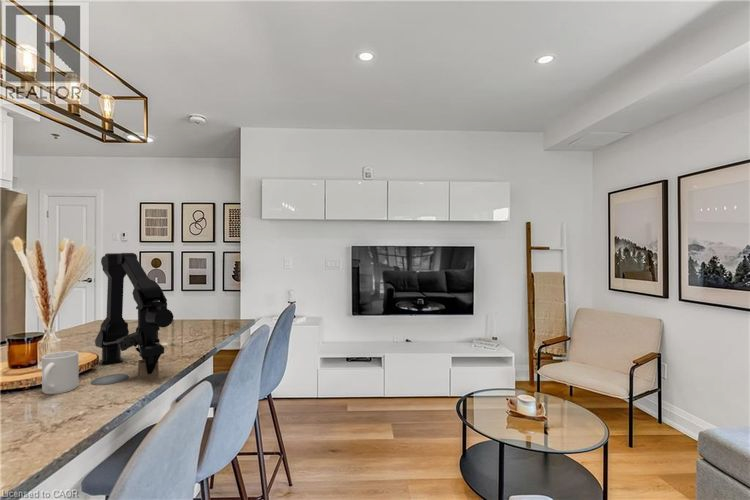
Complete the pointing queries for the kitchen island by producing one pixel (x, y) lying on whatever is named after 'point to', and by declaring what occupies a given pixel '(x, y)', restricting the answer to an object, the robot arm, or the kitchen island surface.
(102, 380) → the slate coaster
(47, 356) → the mug
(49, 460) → the kitchen island surface
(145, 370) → the walnut block
